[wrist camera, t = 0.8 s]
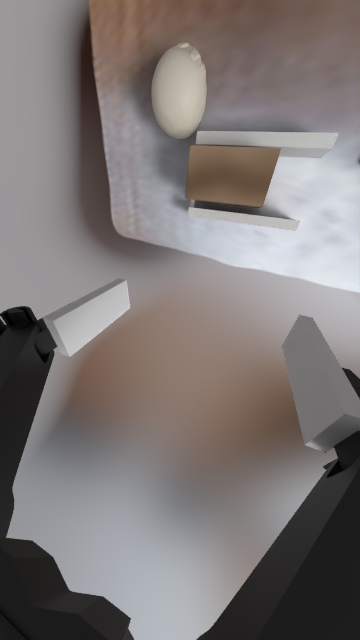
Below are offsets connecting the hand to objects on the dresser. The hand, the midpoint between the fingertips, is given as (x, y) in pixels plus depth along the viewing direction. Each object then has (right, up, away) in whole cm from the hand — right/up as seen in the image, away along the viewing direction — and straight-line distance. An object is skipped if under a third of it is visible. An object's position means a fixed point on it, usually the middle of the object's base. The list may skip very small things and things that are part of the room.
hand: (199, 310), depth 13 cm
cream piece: (0, +29, +11) cm, 31 cm away
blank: (+7, +21, +13) cm, 25 cm away
